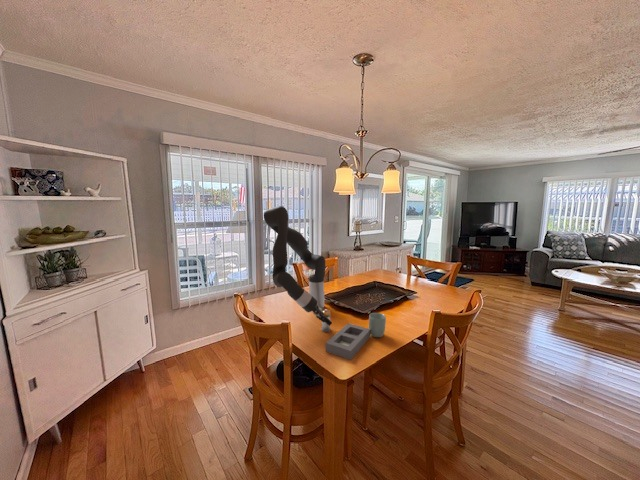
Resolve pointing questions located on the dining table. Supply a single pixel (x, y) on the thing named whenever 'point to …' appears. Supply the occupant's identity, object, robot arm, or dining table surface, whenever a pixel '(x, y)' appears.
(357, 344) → the rack
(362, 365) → the dining table surface
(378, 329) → the cup
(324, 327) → the glass bottle
